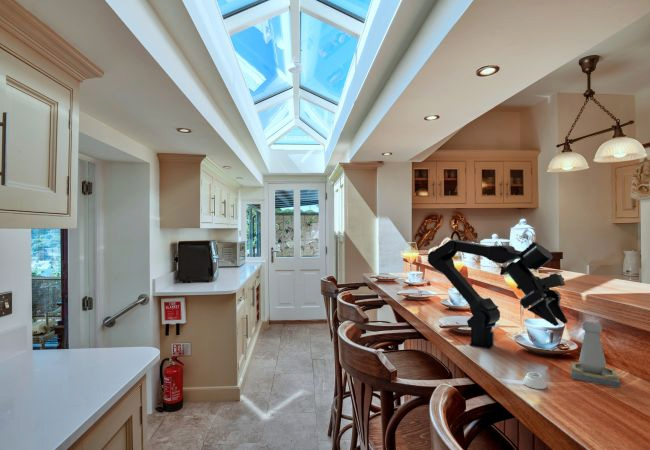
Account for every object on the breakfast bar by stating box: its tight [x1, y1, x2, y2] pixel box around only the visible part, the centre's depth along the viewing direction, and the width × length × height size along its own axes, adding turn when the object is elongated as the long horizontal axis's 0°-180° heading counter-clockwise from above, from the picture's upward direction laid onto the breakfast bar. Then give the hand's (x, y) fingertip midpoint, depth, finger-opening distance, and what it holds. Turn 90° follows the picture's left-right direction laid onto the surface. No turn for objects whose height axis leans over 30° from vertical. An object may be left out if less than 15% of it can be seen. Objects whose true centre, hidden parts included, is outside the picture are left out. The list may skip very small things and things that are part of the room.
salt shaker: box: [578, 321, 607, 374], centre depth 96 cm, size 6×6×13 cm
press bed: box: [570, 361, 621, 389], centre depth 96 cm, size 10×10×2 cm
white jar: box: [522, 371, 547, 390], centre depth 90 cm, size 5×3×5 cm
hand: (561, 324), depth 103 cm, fingers open, 9 cm apart
